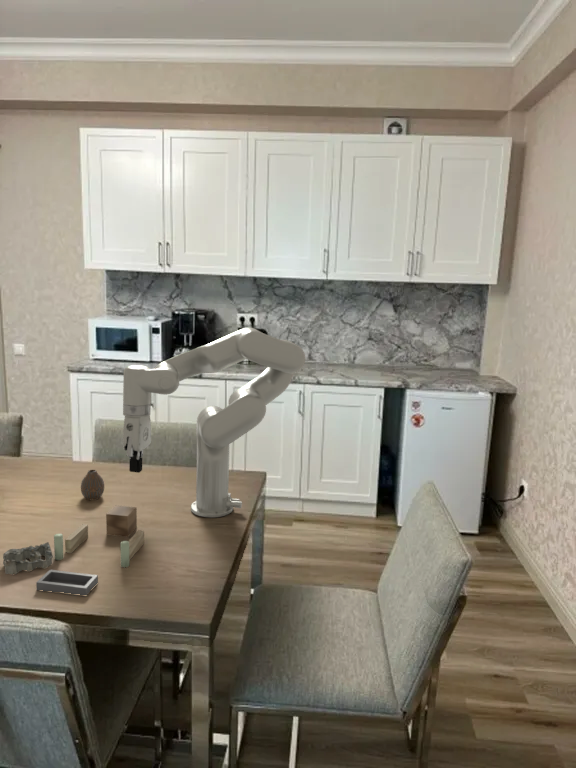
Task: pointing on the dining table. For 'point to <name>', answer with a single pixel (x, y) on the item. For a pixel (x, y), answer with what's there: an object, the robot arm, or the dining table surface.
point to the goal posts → (59, 550)
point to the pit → (67, 582)
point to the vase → (92, 485)
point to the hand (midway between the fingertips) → (135, 471)
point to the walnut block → (121, 520)
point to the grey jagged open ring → (16, 556)
